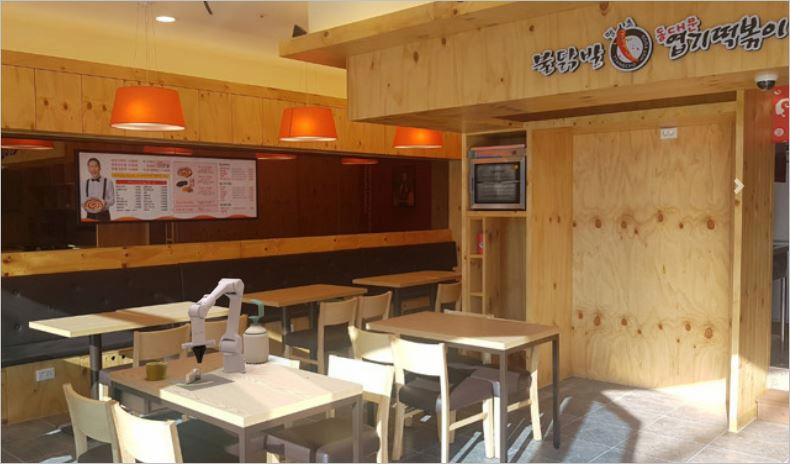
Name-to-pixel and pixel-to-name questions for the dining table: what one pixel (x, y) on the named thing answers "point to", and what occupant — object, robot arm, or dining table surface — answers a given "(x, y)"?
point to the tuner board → (202, 382)
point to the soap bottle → (256, 339)
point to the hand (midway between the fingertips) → (199, 362)
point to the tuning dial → (193, 375)
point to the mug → (156, 371)
